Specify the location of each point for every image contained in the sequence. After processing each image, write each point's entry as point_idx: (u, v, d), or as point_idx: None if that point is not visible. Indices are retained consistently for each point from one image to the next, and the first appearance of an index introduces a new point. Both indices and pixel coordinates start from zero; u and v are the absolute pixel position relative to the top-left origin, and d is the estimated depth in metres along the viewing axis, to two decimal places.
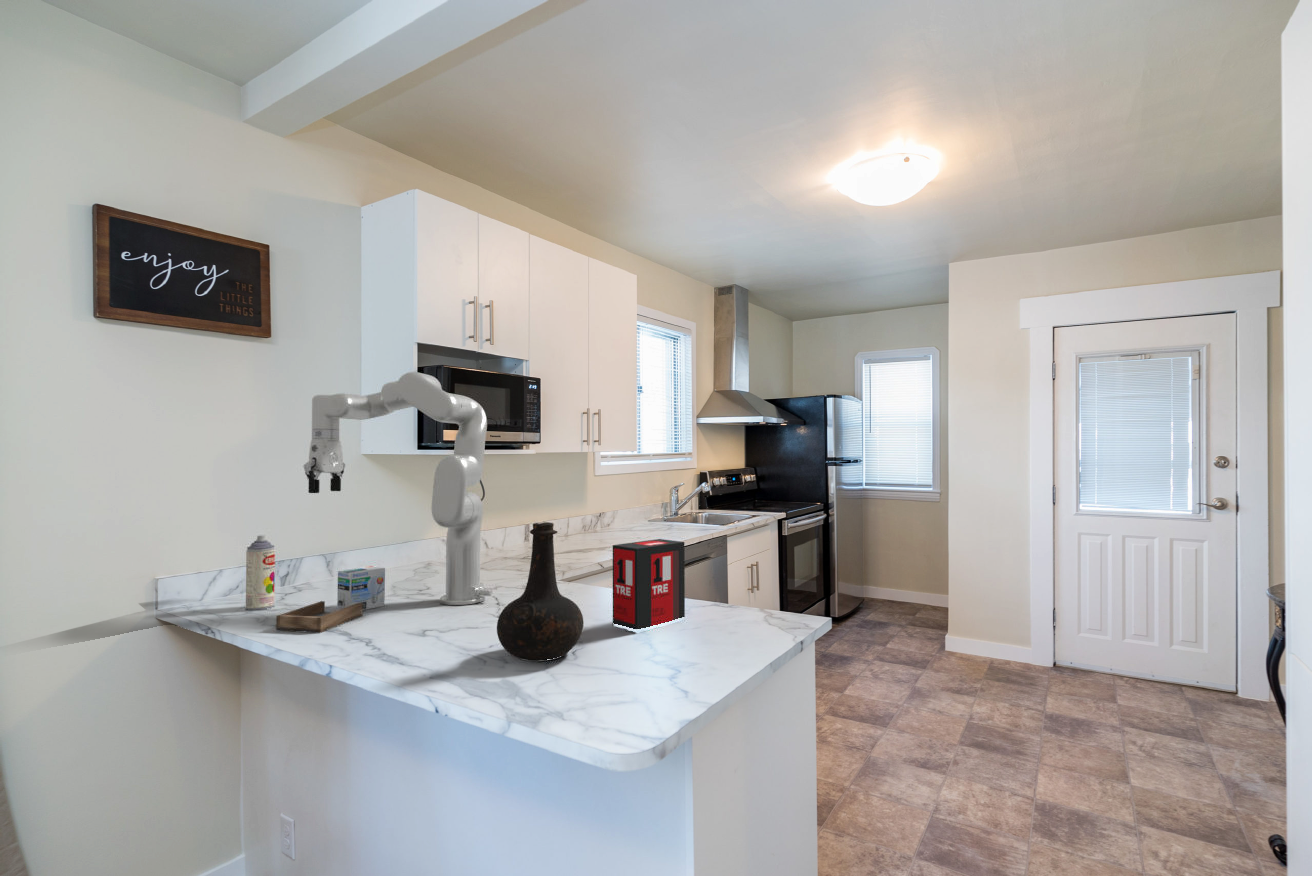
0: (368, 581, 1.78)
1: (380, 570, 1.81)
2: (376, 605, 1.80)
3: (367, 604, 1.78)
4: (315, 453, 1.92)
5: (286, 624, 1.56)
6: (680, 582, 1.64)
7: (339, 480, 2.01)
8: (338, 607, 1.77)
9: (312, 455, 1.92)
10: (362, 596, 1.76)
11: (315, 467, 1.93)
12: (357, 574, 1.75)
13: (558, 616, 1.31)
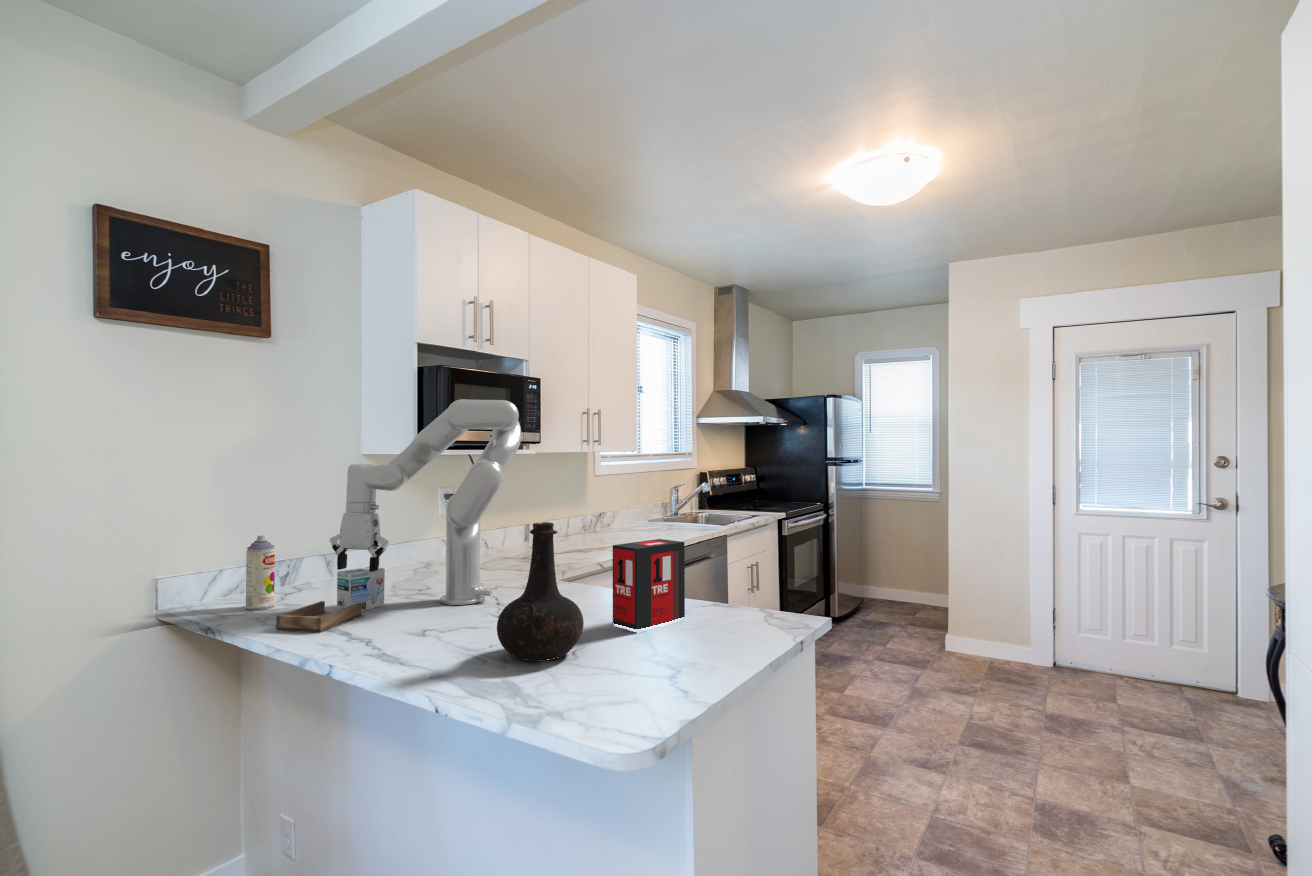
0: (367, 581, 1.78)
1: (380, 570, 1.81)
2: (376, 605, 1.80)
3: (367, 604, 1.78)
4: (376, 528, 1.80)
5: (286, 624, 1.56)
6: (680, 582, 1.64)
7: None
8: (338, 608, 1.77)
9: (375, 531, 1.79)
10: (361, 596, 1.76)
11: None
12: (356, 574, 1.75)
13: (558, 616, 1.31)
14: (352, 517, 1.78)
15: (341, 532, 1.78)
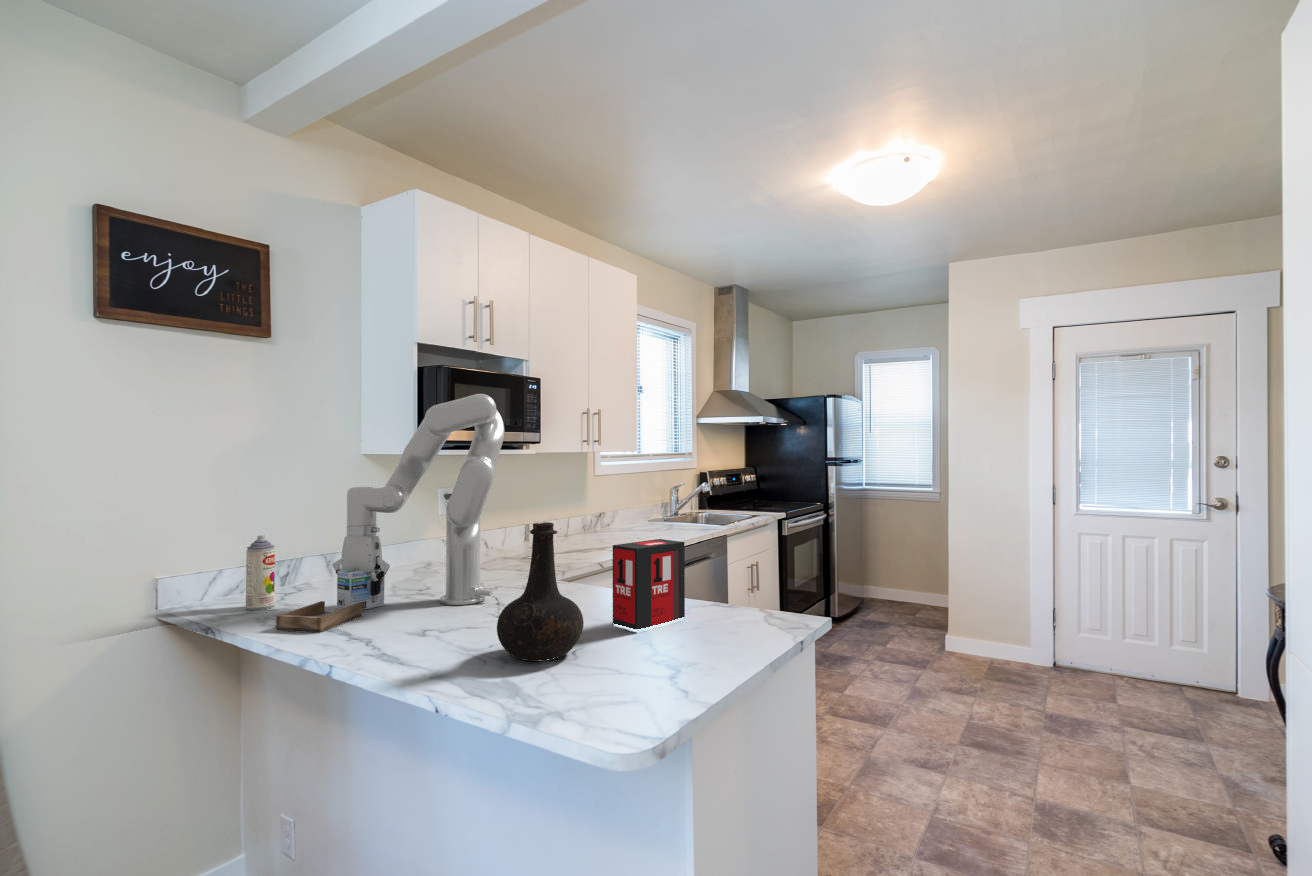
0: (368, 580, 1.78)
1: (380, 570, 1.81)
2: (376, 605, 1.80)
3: (367, 603, 1.78)
4: (378, 551, 1.80)
5: (286, 624, 1.56)
6: (680, 582, 1.64)
7: None
8: (338, 607, 1.77)
9: (376, 553, 1.79)
10: (362, 596, 1.76)
11: None
12: (357, 574, 1.75)
13: (558, 616, 1.31)
14: (353, 541, 1.78)
15: (343, 556, 1.79)
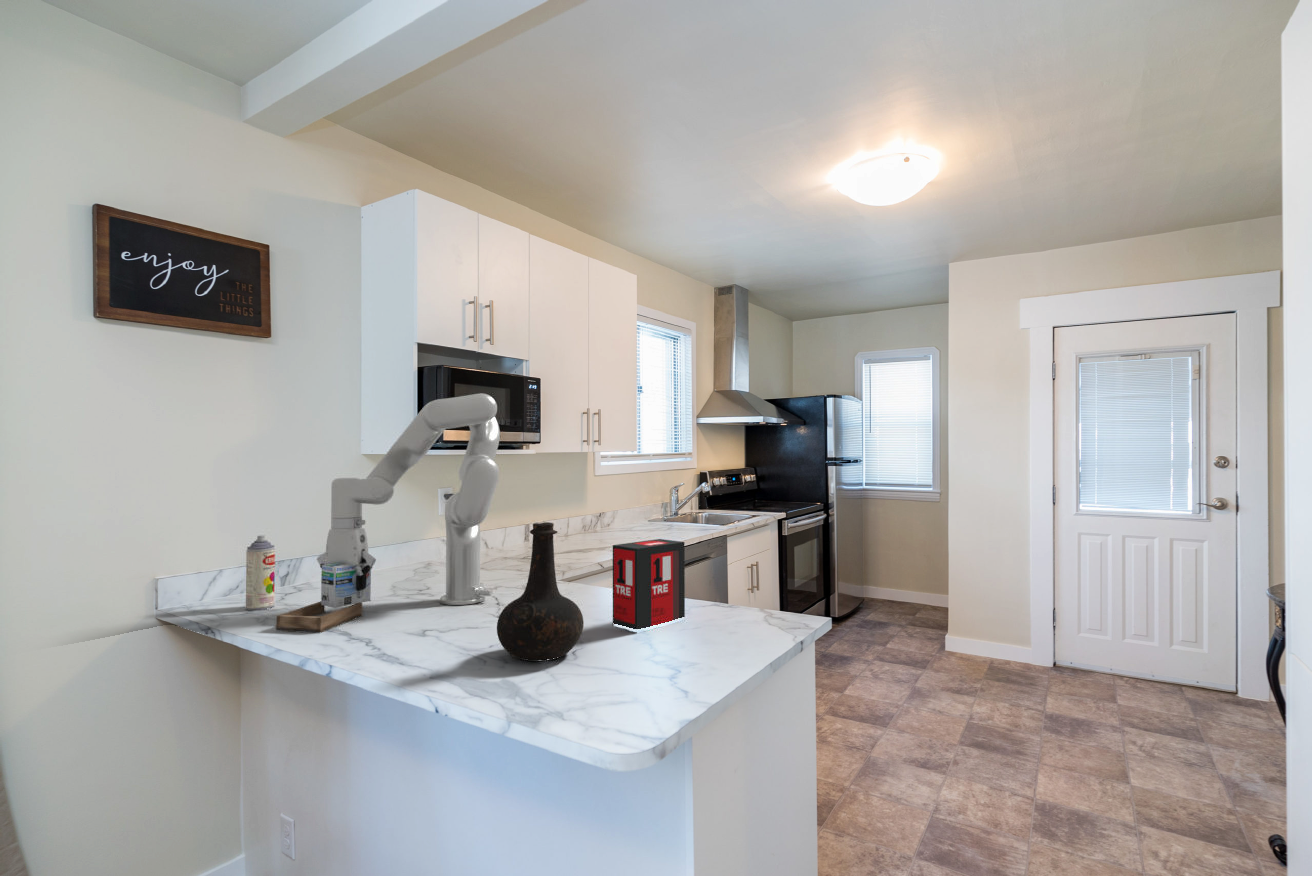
0: (353, 575, 1.72)
1: (366, 564, 1.75)
2: (362, 600, 1.74)
3: (352, 599, 1.71)
4: (364, 544, 1.73)
5: (286, 624, 1.56)
6: (680, 582, 1.64)
7: None
8: (322, 602, 1.70)
9: (362, 547, 1.72)
10: (347, 591, 1.70)
11: None
12: (341, 568, 1.69)
13: (558, 616, 1.31)
14: (337, 534, 1.71)
15: (327, 549, 1.72)
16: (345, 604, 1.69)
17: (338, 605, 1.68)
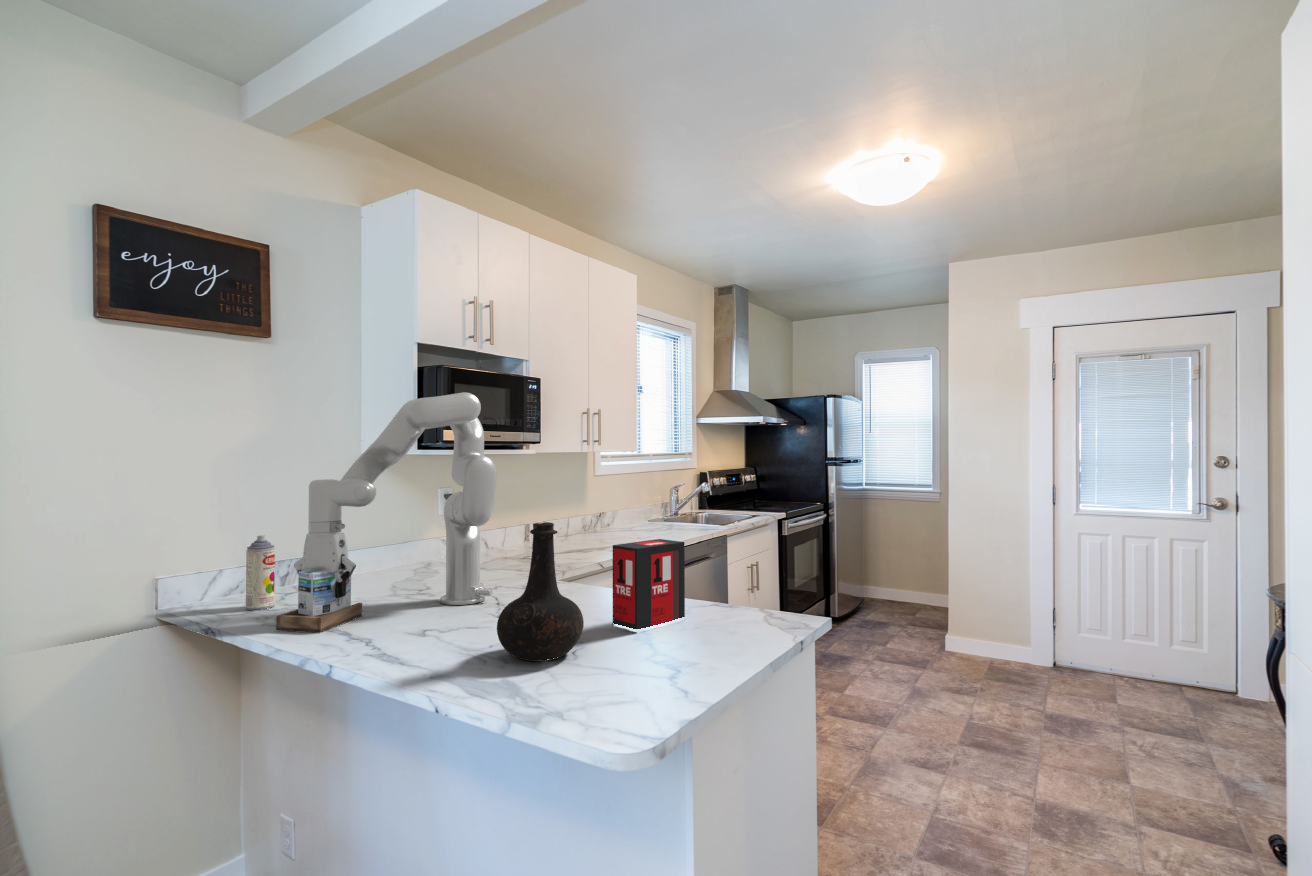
0: (332, 582, 1.63)
1: None
2: (341, 608, 1.65)
3: (331, 606, 1.63)
4: (343, 549, 1.65)
5: (286, 624, 1.56)
6: (680, 582, 1.64)
7: None
8: (299, 610, 1.62)
9: (341, 552, 1.64)
10: (325, 598, 1.61)
11: None
12: (319, 574, 1.60)
13: (558, 616, 1.31)
14: (315, 539, 1.63)
15: (304, 555, 1.64)
16: (323, 612, 1.61)
17: (316, 613, 1.59)
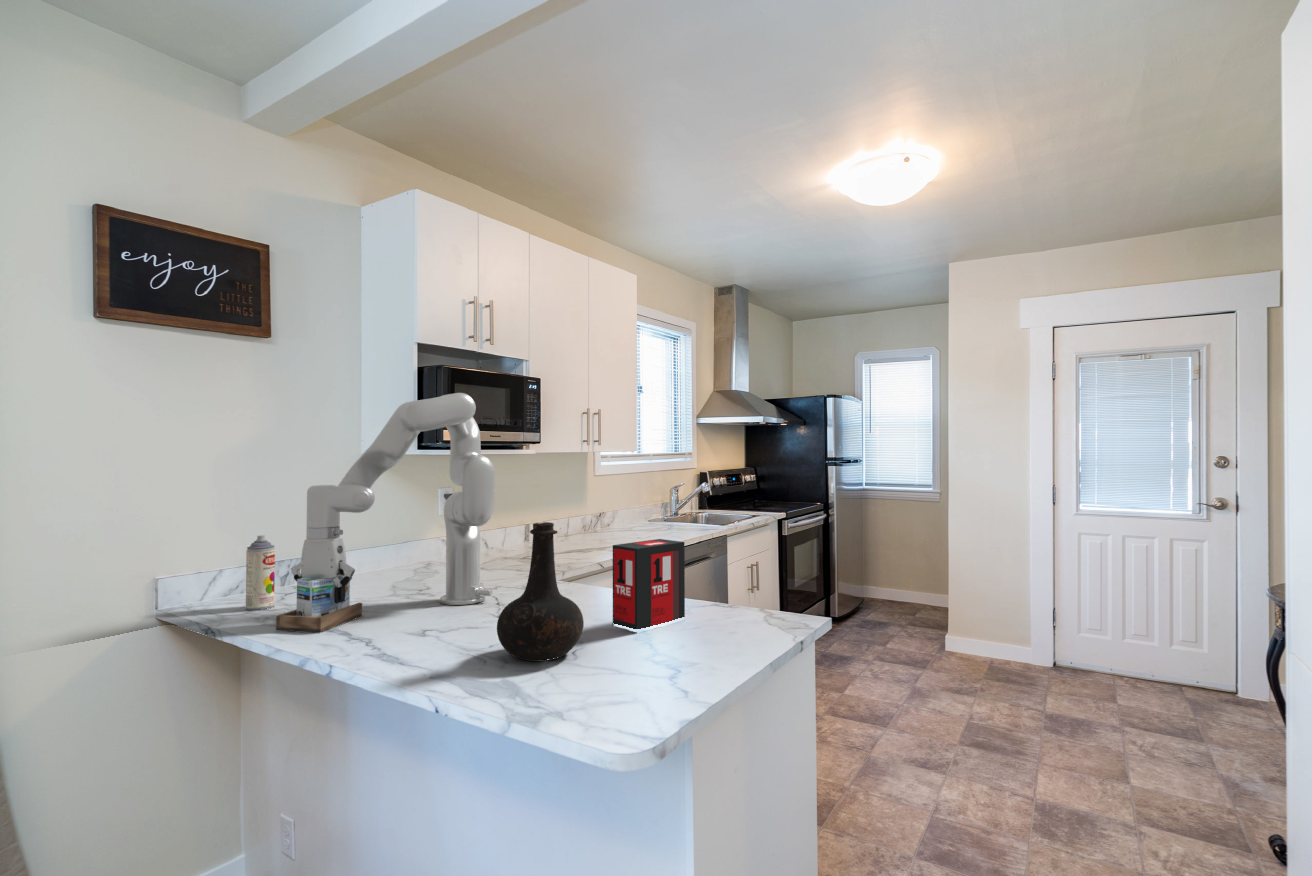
0: (331, 589, 1.63)
1: None
2: None
3: None
4: (341, 555, 1.64)
5: (286, 624, 1.56)
6: (680, 582, 1.64)
7: None
8: None
9: (339, 558, 1.63)
10: (324, 606, 1.61)
11: None
12: (318, 582, 1.60)
13: (558, 616, 1.31)
14: (313, 545, 1.62)
15: (302, 561, 1.63)
16: None
17: None
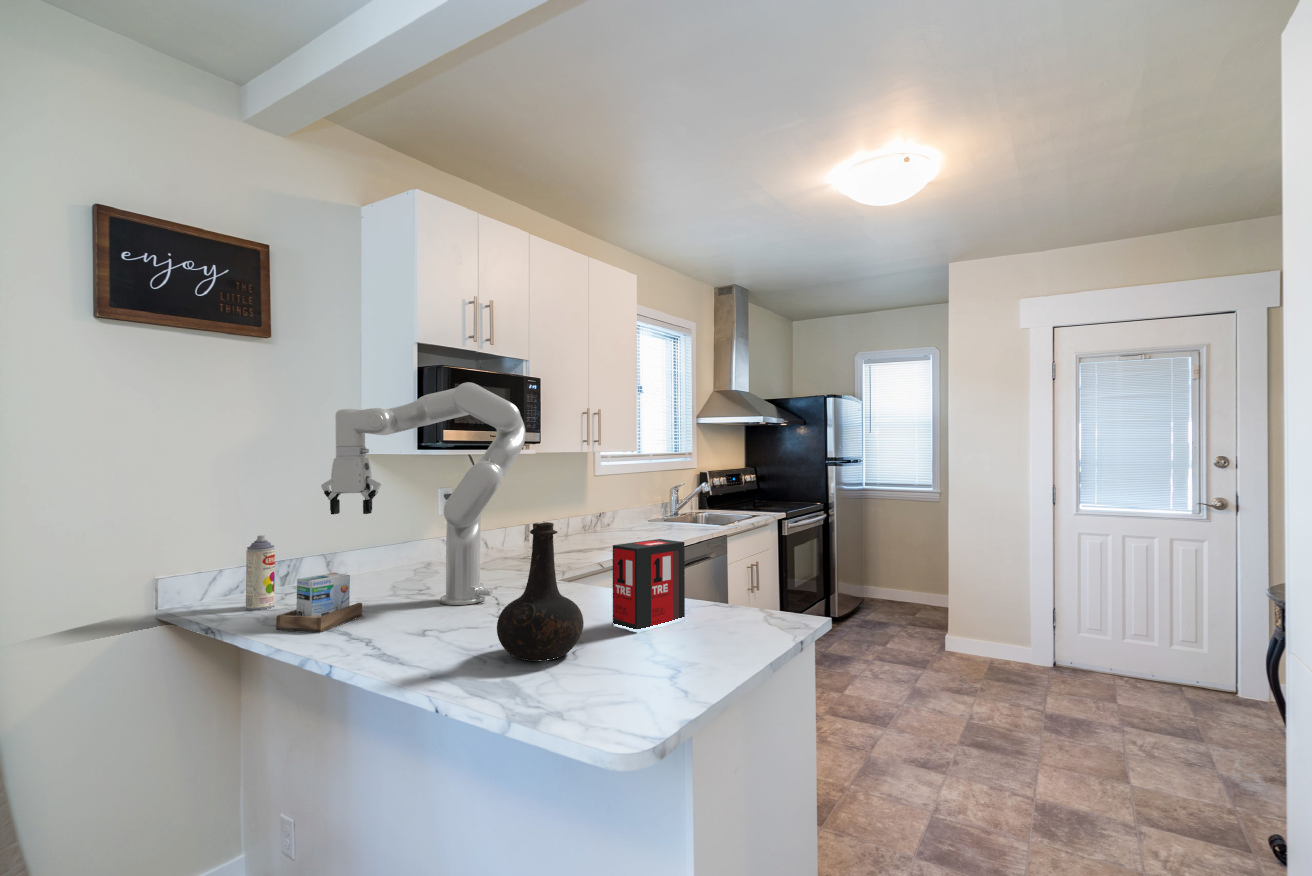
0: (331, 589, 1.63)
1: (344, 577, 1.66)
2: None
3: None
4: (368, 471, 1.82)
5: (286, 624, 1.56)
6: (680, 582, 1.64)
7: None
8: None
9: (366, 474, 1.81)
10: (324, 606, 1.61)
11: None
12: (318, 582, 1.60)
13: (558, 616, 1.31)
14: (342, 462, 1.80)
15: (332, 477, 1.81)
16: None
17: None
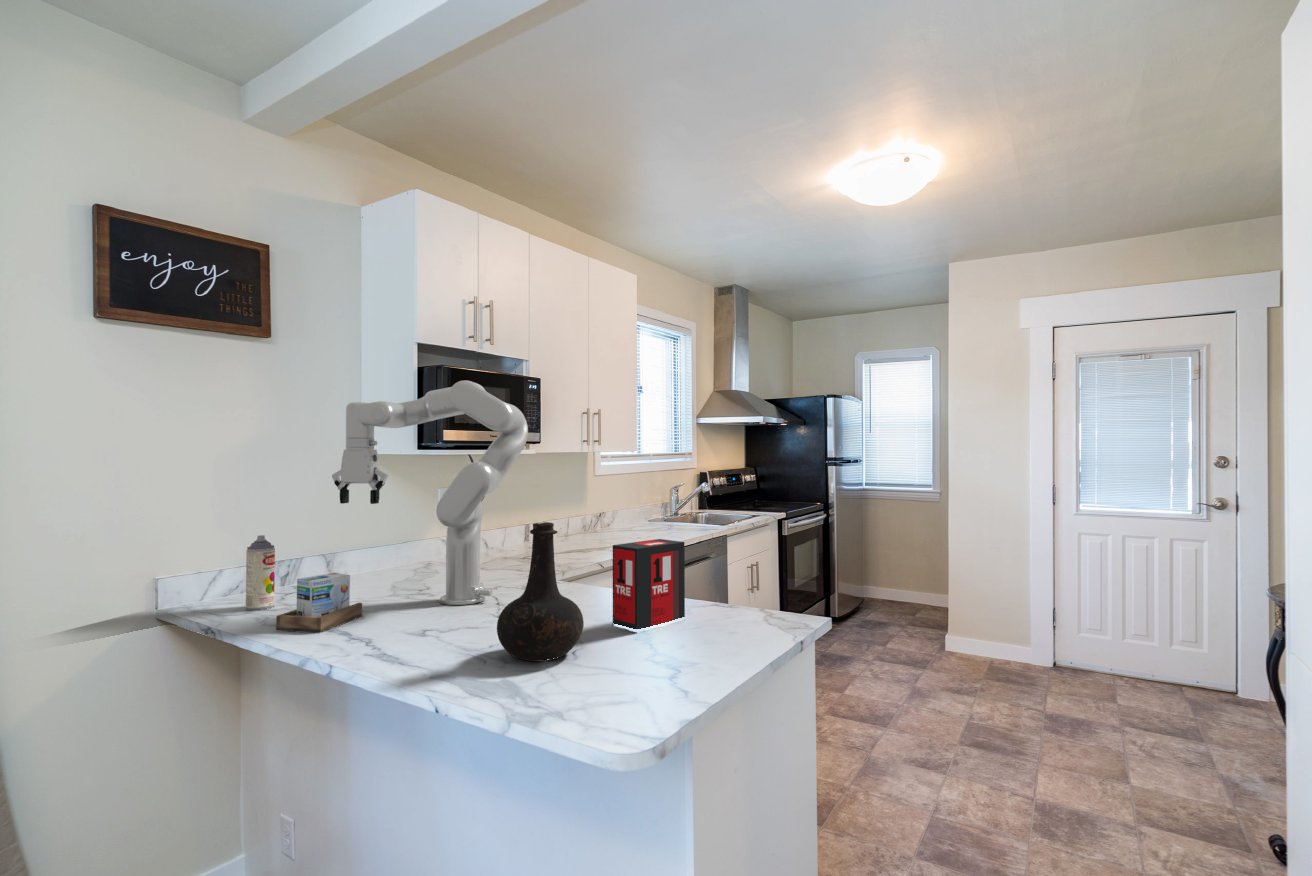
0: (331, 589, 1.63)
1: (344, 577, 1.66)
2: None
3: None
4: (376, 463, 1.89)
5: (286, 624, 1.56)
6: (680, 582, 1.64)
7: None
8: None
9: (374, 465, 1.88)
10: (324, 606, 1.61)
11: None
12: (318, 582, 1.60)
13: (558, 616, 1.31)
14: (352, 453, 1.87)
15: (342, 467, 1.88)
16: None
17: None
